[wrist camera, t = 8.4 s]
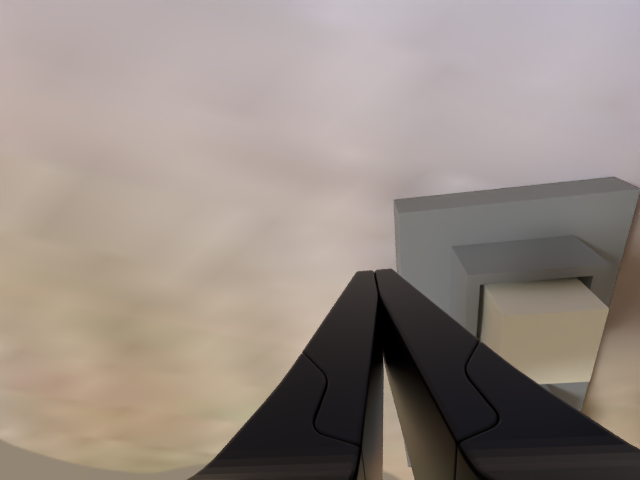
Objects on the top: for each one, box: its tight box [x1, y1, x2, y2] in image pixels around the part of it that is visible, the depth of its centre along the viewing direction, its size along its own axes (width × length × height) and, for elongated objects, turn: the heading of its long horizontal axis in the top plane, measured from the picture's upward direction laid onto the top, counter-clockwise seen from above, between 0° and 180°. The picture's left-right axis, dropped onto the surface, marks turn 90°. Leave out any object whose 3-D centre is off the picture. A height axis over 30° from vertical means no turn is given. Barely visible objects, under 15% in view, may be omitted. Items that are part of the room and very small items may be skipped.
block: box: [394, 177, 640, 467], centre depth 24 cm, size 12×22×5 cm, turn 7°
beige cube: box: [476, 277, 609, 384], centre depth 19 cm, size 4×4×4 cm
